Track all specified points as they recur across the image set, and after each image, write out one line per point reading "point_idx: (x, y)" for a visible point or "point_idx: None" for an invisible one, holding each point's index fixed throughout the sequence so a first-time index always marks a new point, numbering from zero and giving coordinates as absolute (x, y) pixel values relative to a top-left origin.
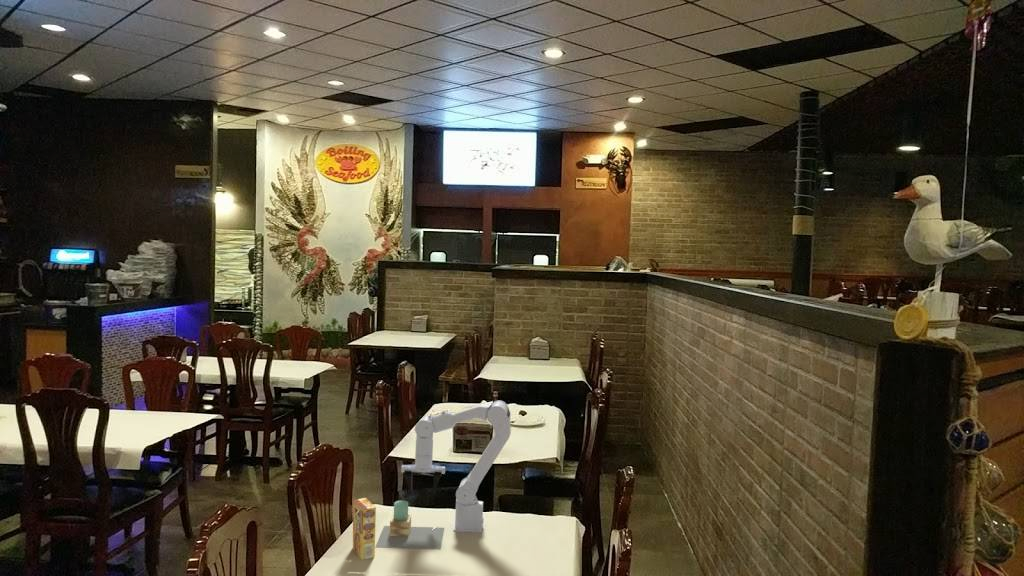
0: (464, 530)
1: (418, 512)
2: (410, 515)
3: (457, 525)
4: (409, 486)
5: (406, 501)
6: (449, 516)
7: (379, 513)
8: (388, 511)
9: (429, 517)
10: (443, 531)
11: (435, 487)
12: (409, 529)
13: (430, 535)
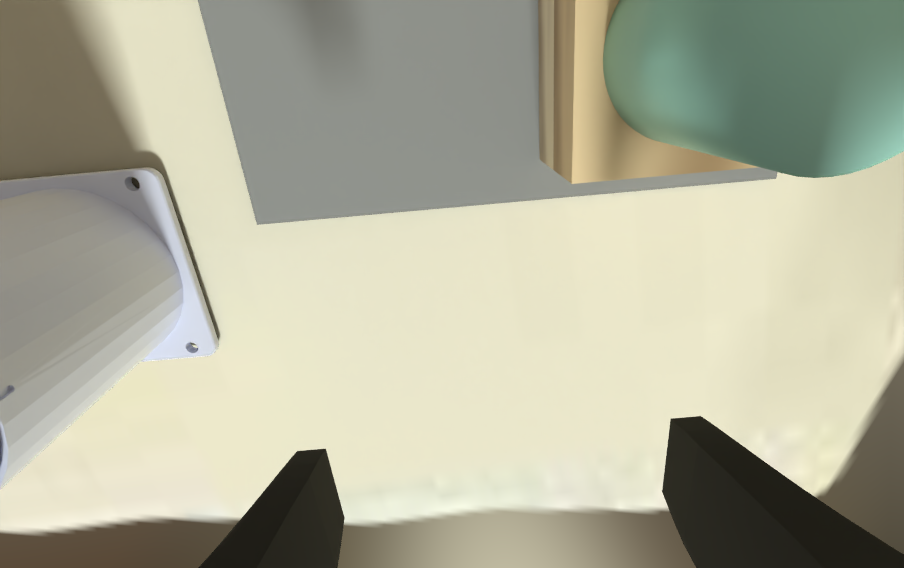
0: (52, 177)
1: (523, 452)
2: (579, 163)
3: (118, 221)
4: (820, 519)
5: (747, 143)
6: (294, 428)
7: (798, 400)
8: (733, 437)
9: (431, 393)
10: (238, 142)
11: (206, 566)
12: (546, 46)
13: (328, 29)
